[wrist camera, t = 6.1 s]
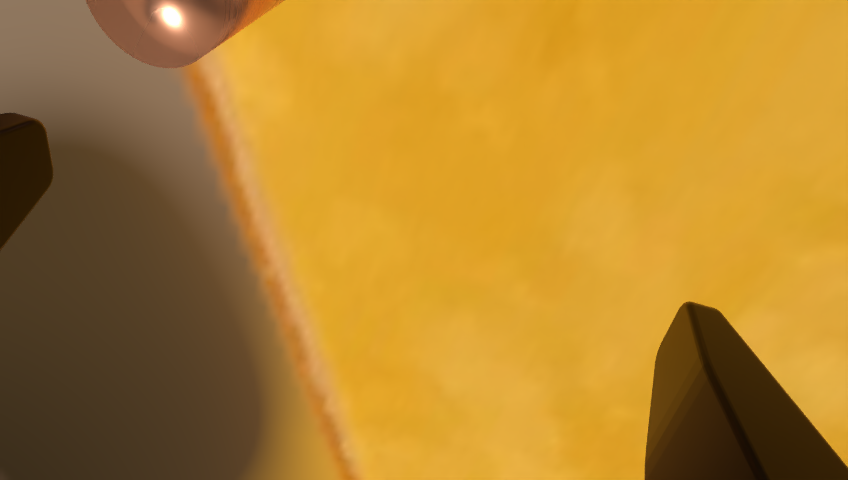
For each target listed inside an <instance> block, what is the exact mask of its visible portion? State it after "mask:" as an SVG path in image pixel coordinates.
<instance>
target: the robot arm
mask: <svg viewBox="0 0 848 480" xmlns="http://www.w3.org/2000/svg"><path fill="white" fill-rule="evenodd" d="M53 173H54V170H53V164H52V158H51V153H50V148H49V142H48V137H47V132H46V128H45V127H44V125H43V124H42V123H41V122H40V121H39V120H37V119H34V118H30V117H27V116H23V115H20V114H16V113H4V114H0V251H1V249H2V248H3V247H4V246H5V244H6V243H7V242H8V240H9V239H10V238H11V236H12V235H13V234H14V233H15V231H16V230H17V228H18V227H19V226H20V225H21V224H22V222H23V221H24V220H25V218H26V217H27V216H28V214H29V213H30V212H31V211H32V209H33V208H34V207H35V205H36V204H37V203H38V202H39V200H40V199H41V198H42V196H43V195H44V194H45V192H46V191H47V190H48V188H49V187H50V185H51V183H52V180H53ZM645 480H848V467H847V466H846V465H845V463H844V462H843V461H842V460H841V459H840V457H839V456H838V455H837V454H836V452H835V451H834V450H833V449H832V448H831V446H830V445H829V444H828V443H827V441H826V440H825V439H824V438H823V437H822V435H821V434H820V433H819V432H818V430H817V429H816V428H815V427H814V426H813V424H812V423H811V422H810V421H809V419H808V418H807V417H806V416H805V415H804V413H803V412H802V411H801V410H800V408H799V407H798V406H797V405H796V404H795V402H794V401H793V400H792V399H791V398H790V396H789V395H788V394H787V393H786V391H785V390H784V389H783V388H782V387H781V385H780V384H779V383H778V382H777V380H776V379H775V378H774V377H773V376H772V374H771V373H770V372H769V371H768V369H767V368H766V367H765V366H764V365H763V363H762V362H761V361H760V360H759V358H758V357H757V356H756V355H755V354H754V352H753V351H752V350H751V349H750V347H749V346H748V345H747V344H746V343H745V341H744V340H743V339H742V338H741V336H740V335H739V334H738V333H737V332H736V330H735V329H734V328H733V327H732V326H731V324H730V323H729V322H728V321H727V319H726V318H725V317H724V316H723V315H722V313H721V312H720V311H719V310H717V309H715V308H712V307H708V306H704V305H701V304H697V303H694V302H686V303H684V304H683V305H682V306H681V307H680V308H679V310H678V312H677V314H676V316H675V318H674V320H673V322H672V323H671V325H670V327H669V329H668V331H667V333H666V335H665V337H664V339H663V341H662V343H661V345H660V347H659V350H658V353H657V356H656V361H655V369H654V379H653V388H652V398H651V407H650V417H649V426H648V436H647V445H646V457H645Z"/></svg>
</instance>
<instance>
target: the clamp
mask: <svg viewBox="0 0 848 480" xmlns="http://www.w3.org/2000/svg"><path fill="white" fill-rule="evenodd" d="M283 1H284V0H86V2H87V4H88V6H89V9H90V11H91V13H92V15H93V16H94V18H95V20H96V21H97V23H98V24H99V26H100V27H101V28H102V30H103V31H104V32H105V33H106V34H107V35H108V37H109V38H110V39H111V40H112V41H113V42H114V43H115V44H116V45H117V46H119V47H120V48H121V49H122V50H124V51H125V52H126V53H128V54H129V55H131V56H132V57H134V58H136V59H138V60H140V61H142V62H144V63H147V64H149V65H153V66H157V67H162V68H178V67H183V66H186V65H189V64H191V63H193V62H195V61H197V60H198V59H200V58H201V57H203V56H204V55H206V54H207V53H209V52H210V51H211V50H213V49H214V48H216V47H217V46H219V45H220V44H222V43H223V42H225V41H226V40H228V39H229V38H230V37H232V36H233V35H235V34H236V33H238V32H239V31H241V30H242V29H244V28H245V27H246V26H248V25H249V24H251V23H252V22H254V21H255V20H257V19H258V18H260V17H261V16H263V15H264V14H265V13H267V12H268V11H270V10H271V9H273V8H274V7H276V6H277V5H279V4H280V3H282V2H283Z"/></svg>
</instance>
